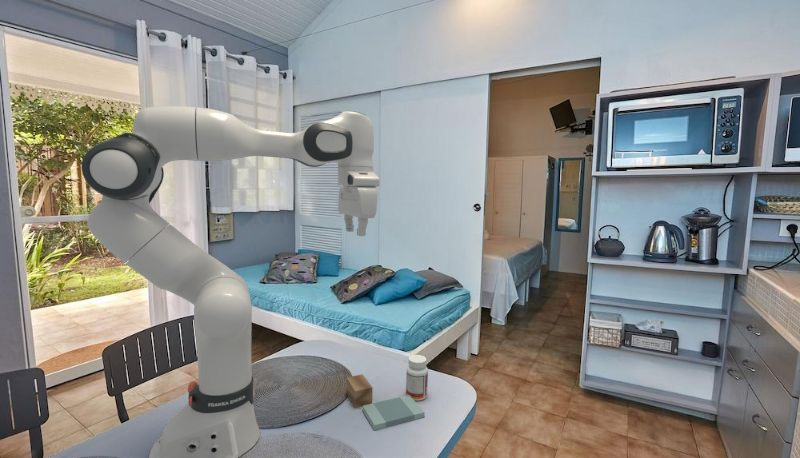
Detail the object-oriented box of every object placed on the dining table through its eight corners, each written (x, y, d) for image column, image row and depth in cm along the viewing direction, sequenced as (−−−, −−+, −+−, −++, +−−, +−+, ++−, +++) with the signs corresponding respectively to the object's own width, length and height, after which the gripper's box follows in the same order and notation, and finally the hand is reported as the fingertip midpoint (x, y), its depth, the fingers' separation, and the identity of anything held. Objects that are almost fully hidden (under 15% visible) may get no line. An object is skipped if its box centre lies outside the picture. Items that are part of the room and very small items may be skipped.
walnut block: (355, 408, 101) (355, 391, 101) (346, 393, 108) (346, 377, 108) (372, 404, 103) (372, 387, 103) (362, 390, 110) (362, 374, 110)
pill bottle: (417, 387, 112) (418, 351, 111) (431, 396, 107) (432, 359, 106) (401, 394, 108) (402, 357, 107) (415, 404, 104) (416, 365, 102)
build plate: (374, 430, 92) (374, 425, 92) (362, 410, 100) (362, 405, 100) (424, 417, 98) (424, 412, 97) (409, 399, 106) (409, 394, 106)
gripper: (332, 179, 101) (332, 229, 103) (356, 177, 83) (355, 239, 84) (354, 180, 104) (354, 229, 106) (382, 178, 86) (381, 238, 87)
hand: (355, 233), depth 95 cm, fingers open, 8 cm apart
